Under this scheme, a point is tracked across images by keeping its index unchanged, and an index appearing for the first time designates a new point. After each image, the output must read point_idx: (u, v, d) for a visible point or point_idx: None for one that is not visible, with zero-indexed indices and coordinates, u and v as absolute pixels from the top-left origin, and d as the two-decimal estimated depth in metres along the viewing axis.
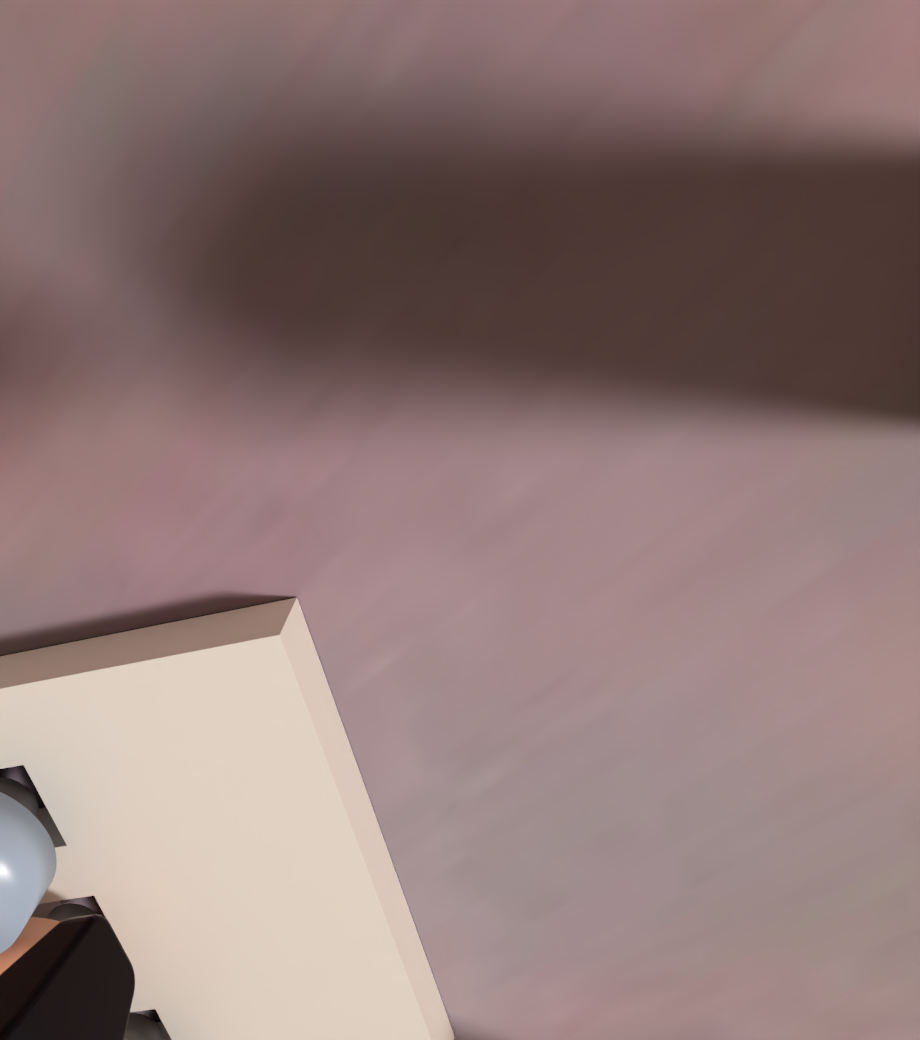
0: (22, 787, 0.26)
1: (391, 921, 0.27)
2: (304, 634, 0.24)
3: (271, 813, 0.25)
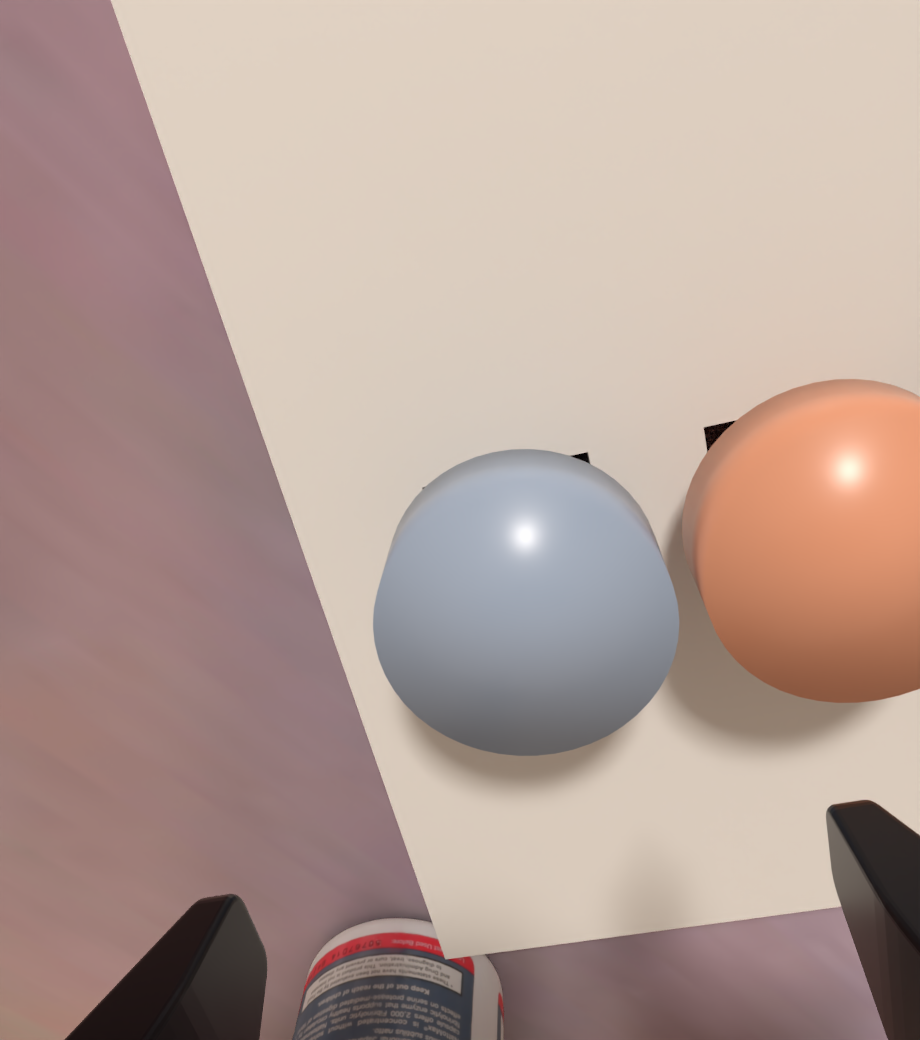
0: None
1: None
2: None
3: (509, 51, 0.13)
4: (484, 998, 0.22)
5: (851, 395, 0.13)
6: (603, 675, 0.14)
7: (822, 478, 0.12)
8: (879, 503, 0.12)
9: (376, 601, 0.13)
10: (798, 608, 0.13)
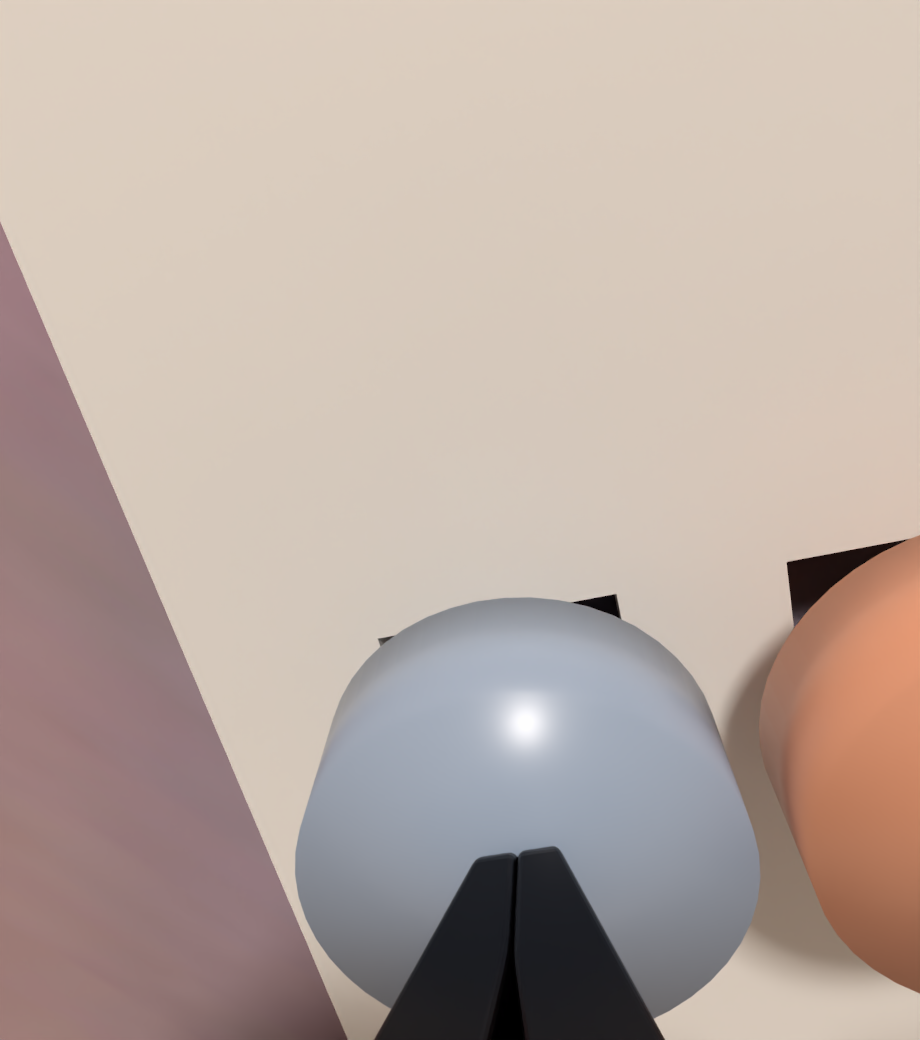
0: None
1: None
2: None
3: (501, 0, 0.08)
4: None
5: None
6: (642, 946, 0.09)
7: None
8: None
9: (298, 842, 0.09)
10: None
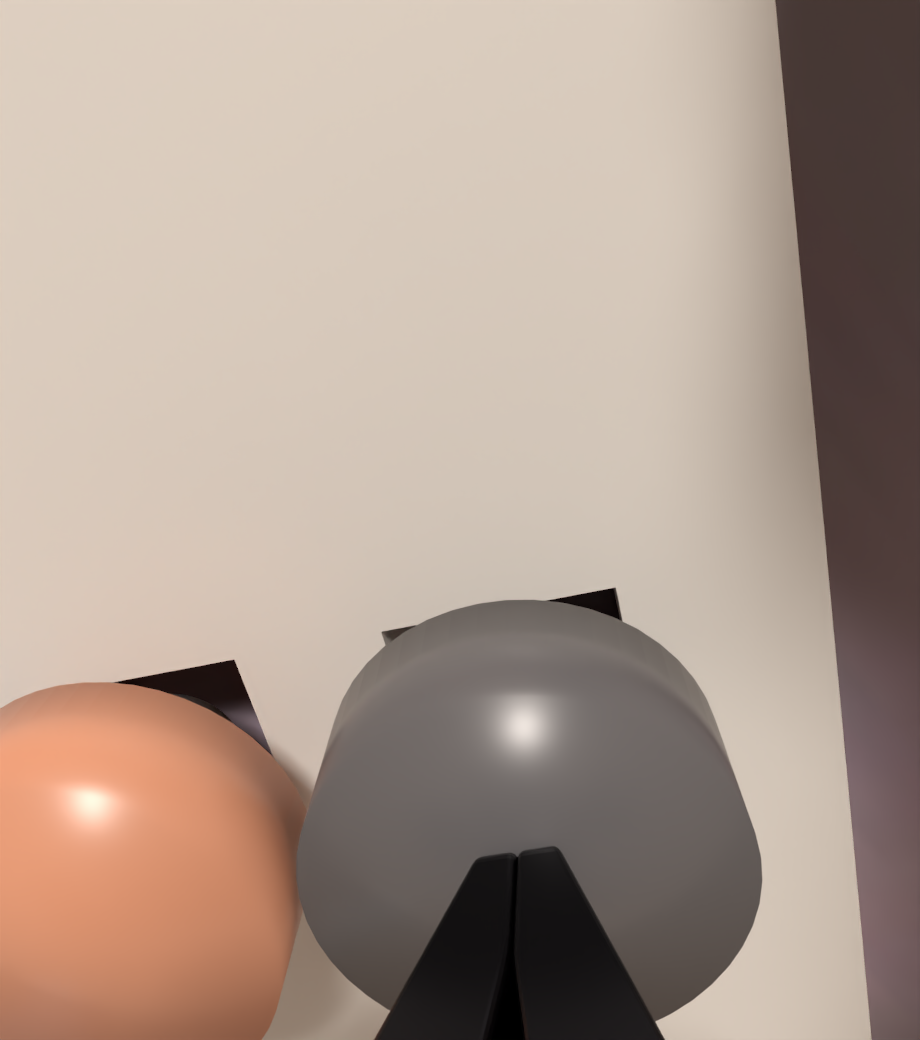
0: None
1: None
2: None
3: None
4: None
5: (45, 727, 0.09)
6: None
7: None
8: (47, 888, 0.09)
9: None
10: (1, 999, 0.10)
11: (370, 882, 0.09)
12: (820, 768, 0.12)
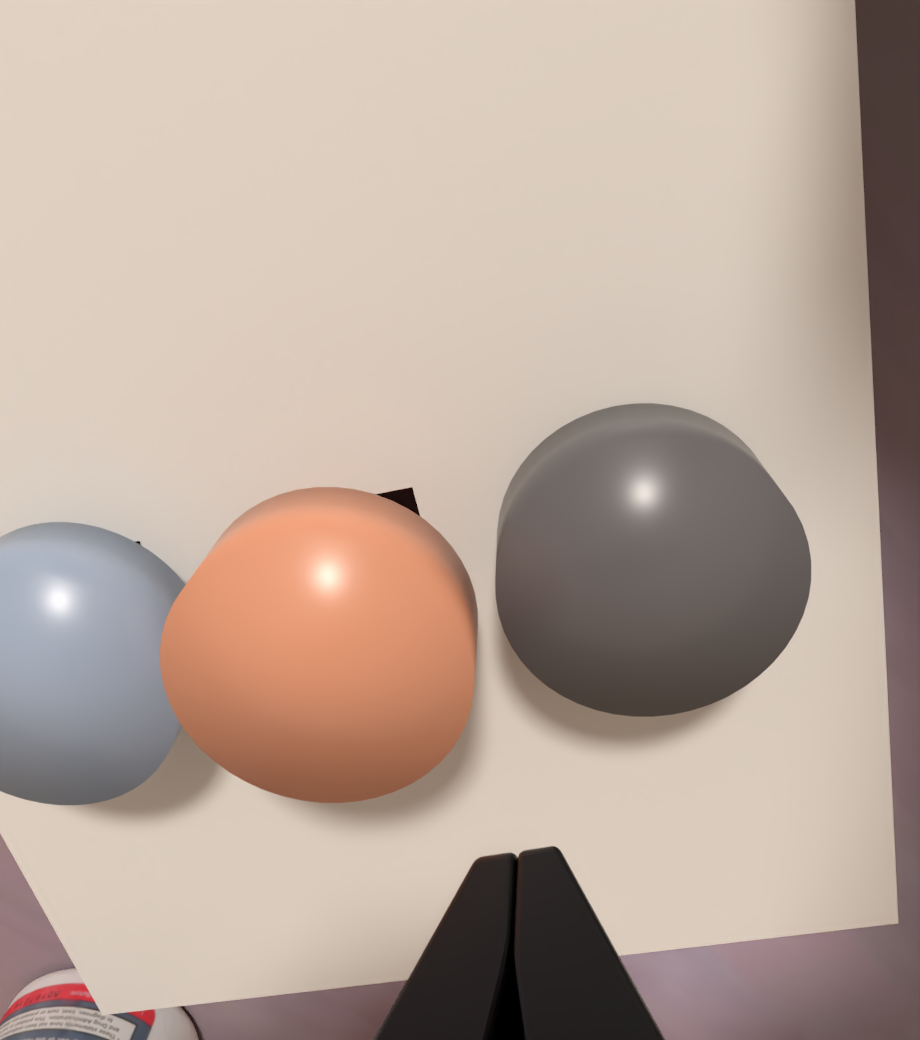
0: None
1: None
2: None
3: None
4: None
5: (301, 508, 0.13)
6: (117, 735, 0.15)
7: (250, 595, 0.12)
8: (310, 619, 0.12)
9: None
10: (260, 714, 0.13)
11: (545, 583, 0.13)
12: (862, 579, 0.15)
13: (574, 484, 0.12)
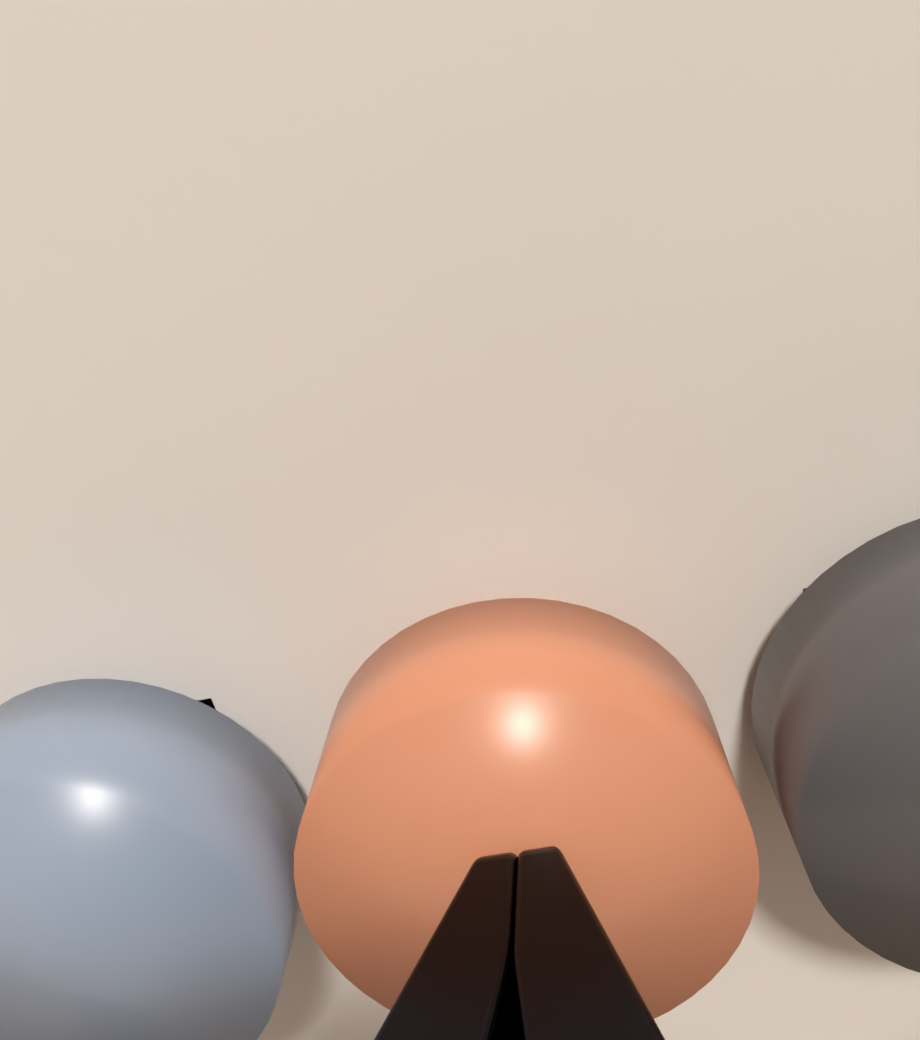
0: None
1: None
2: None
3: None
4: None
5: (499, 638, 0.09)
6: (188, 1006, 0.10)
7: (435, 775, 0.08)
8: (523, 808, 0.08)
9: None
10: None
11: (885, 801, 0.08)
12: None
13: None
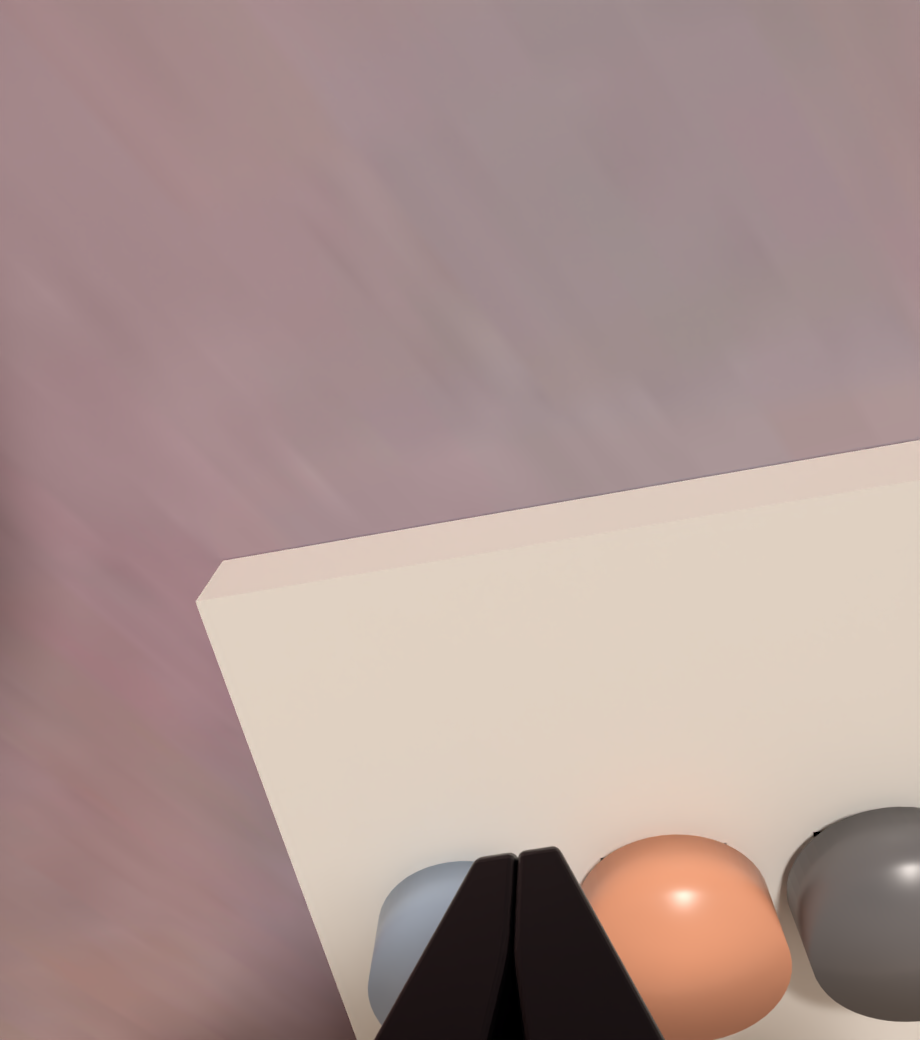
0: None
1: (685, 513, 0.18)
2: (256, 562, 0.20)
3: (466, 646, 0.19)
4: None
5: (679, 861, 0.20)
6: None
7: (655, 925, 0.19)
8: (691, 939, 0.19)
9: (370, 975, 0.20)
10: (643, 991, 0.20)
11: (847, 943, 0.19)
12: None
13: (878, 888, 0.18)
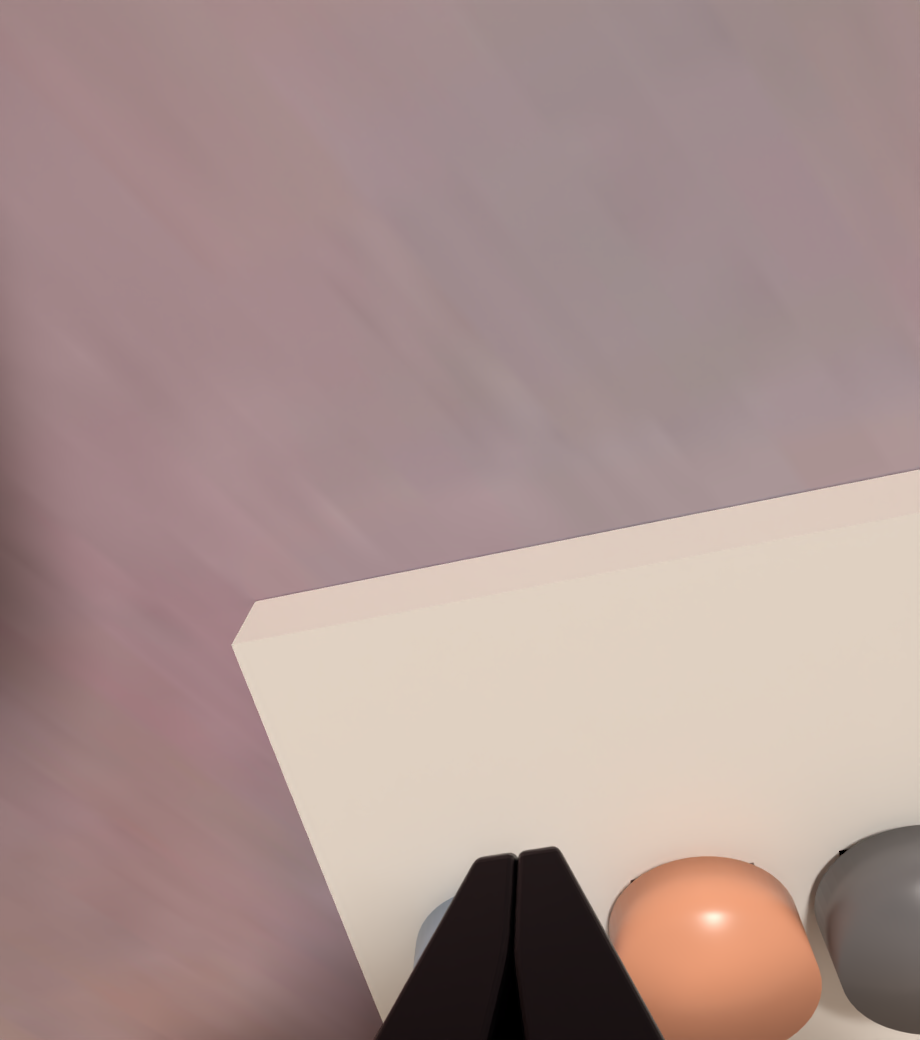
0: None
1: (703, 547, 0.18)
2: (288, 602, 0.21)
3: (494, 680, 0.20)
4: None
5: (708, 883, 0.20)
6: None
7: (686, 947, 0.20)
8: (722, 960, 0.20)
9: None
10: (676, 1011, 0.20)
11: (875, 960, 0.20)
12: None
13: (904, 907, 0.19)
